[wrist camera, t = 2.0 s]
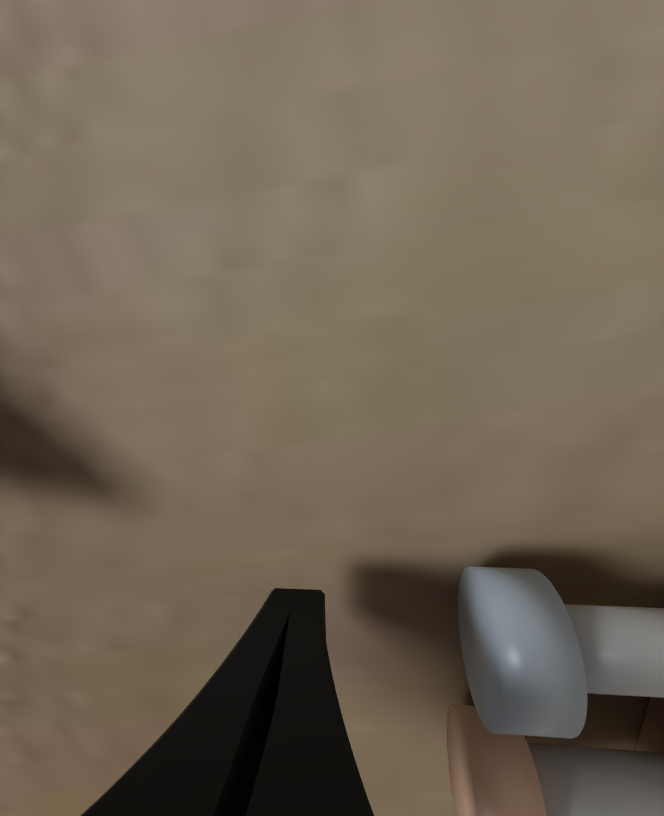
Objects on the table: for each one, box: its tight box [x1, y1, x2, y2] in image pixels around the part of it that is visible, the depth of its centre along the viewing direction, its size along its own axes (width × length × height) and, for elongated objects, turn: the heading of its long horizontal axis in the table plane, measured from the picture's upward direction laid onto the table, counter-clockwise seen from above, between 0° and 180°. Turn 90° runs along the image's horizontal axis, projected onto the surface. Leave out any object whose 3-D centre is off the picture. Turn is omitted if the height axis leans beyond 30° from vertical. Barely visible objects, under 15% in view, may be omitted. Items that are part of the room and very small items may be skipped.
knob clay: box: [447, 704, 664, 816], centre depth 10 cm, size 7×3×3 cm, turn 91°
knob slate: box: [458, 567, 664, 739], centre depth 9 cm, size 7×3×3 cm, turn 91°
